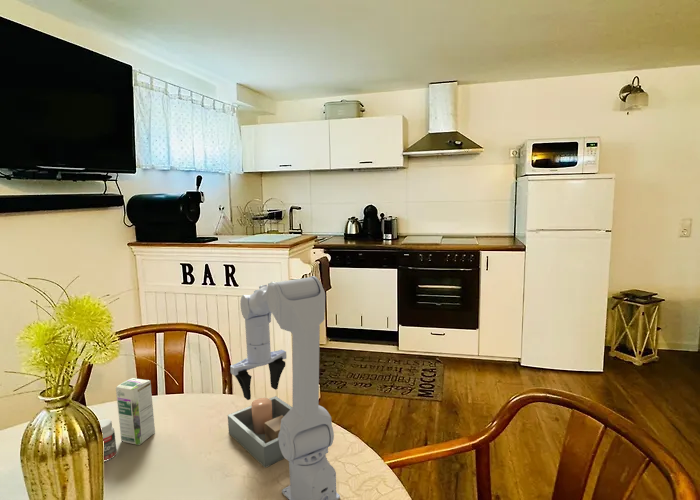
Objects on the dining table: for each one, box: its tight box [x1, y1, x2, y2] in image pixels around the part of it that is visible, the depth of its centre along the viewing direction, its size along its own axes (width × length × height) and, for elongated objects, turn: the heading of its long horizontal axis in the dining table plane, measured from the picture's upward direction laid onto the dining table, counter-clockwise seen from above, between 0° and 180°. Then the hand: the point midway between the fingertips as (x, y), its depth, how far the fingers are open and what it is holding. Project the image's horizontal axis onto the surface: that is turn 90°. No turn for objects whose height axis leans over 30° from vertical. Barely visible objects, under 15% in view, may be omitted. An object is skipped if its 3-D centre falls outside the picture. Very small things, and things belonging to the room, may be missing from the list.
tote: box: [227, 395, 293, 468], centre depth 105 cm, size 18×14×5 cm
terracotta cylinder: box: [250, 397, 273, 434], centre depth 108 cm, size 5×5×7 cm
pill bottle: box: [98, 418, 118, 460], centre depth 99 cm, size 5×5×8 cm
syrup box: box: [115, 377, 156, 446], centre depth 106 cm, size 6×6×14 cm
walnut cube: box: [264, 415, 284, 443], centre depth 102 cm, size 5×5×5 cm
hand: (261, 393), depth 107 cm, fingers open, 7 cm apart
